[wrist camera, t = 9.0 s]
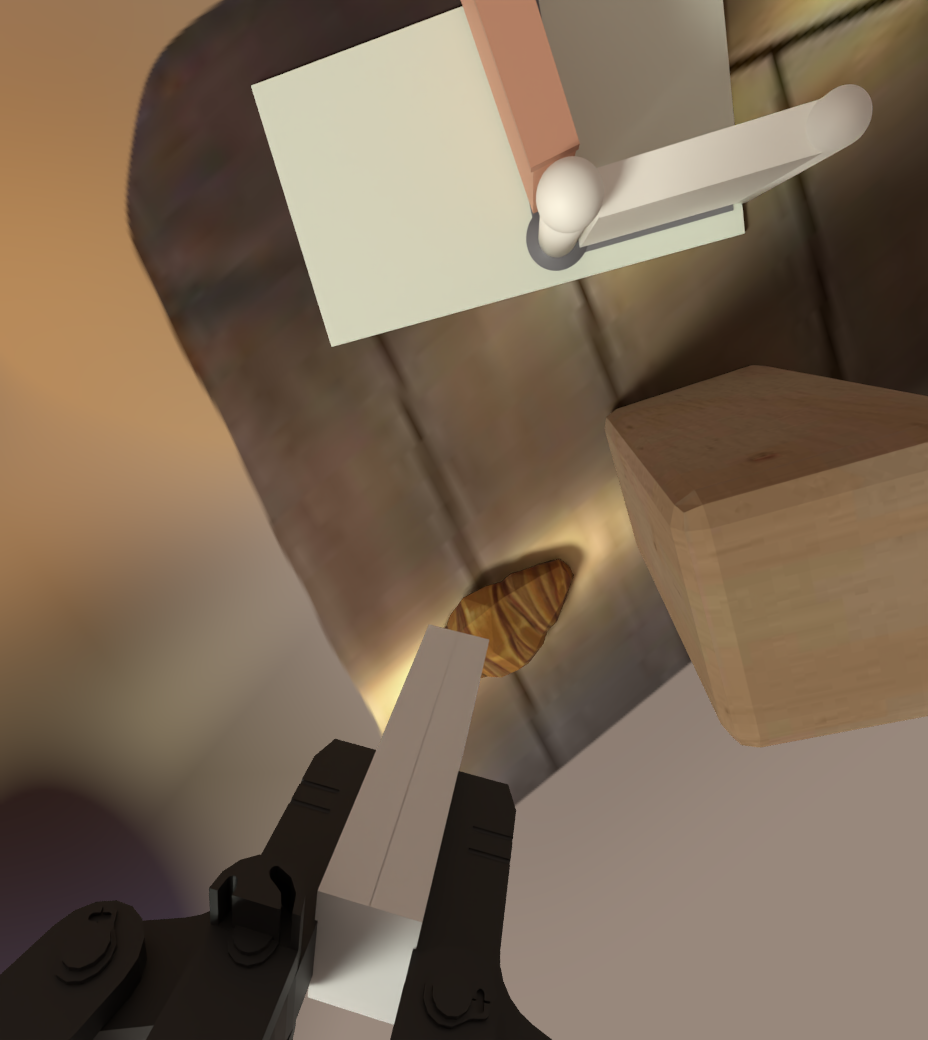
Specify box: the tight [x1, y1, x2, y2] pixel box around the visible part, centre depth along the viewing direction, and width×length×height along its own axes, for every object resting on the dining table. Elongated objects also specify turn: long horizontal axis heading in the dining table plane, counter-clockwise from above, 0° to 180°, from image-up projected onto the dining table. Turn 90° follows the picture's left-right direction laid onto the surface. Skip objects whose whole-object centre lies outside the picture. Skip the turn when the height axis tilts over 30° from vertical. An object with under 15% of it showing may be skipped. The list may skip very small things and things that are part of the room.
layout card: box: [251, 0, 745, 347], centre depth 32 cm, size 25×14×1 cm, turn 104°
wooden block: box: [605, 365, 928, 747], centre depth 27 cm, size 10×10×20 cm
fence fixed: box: [536, 84, 873, 258], centre depth 26 cm, size 12×3×13 cm, turn 104°
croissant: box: [445, 559, 574, 678], centre depth 40 cm, size 14×7×5 cm, turn 134°
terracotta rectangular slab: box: [461, 0, 580, 214], centre depth 26 cm, size 12×2×10 cm, turn 22°
